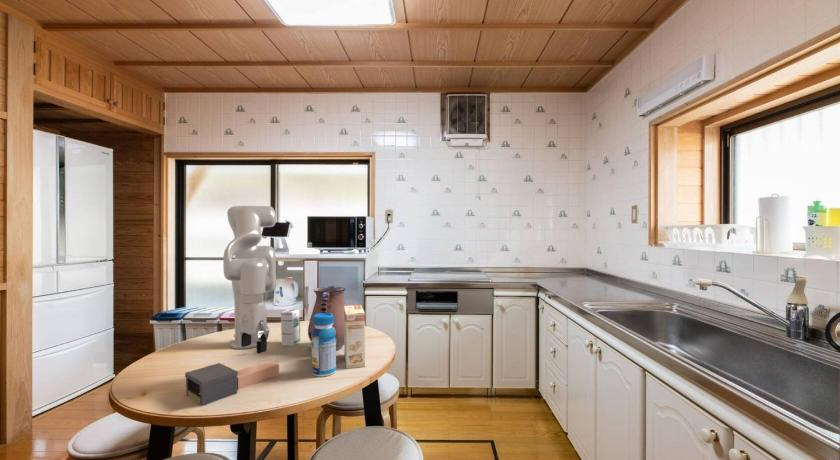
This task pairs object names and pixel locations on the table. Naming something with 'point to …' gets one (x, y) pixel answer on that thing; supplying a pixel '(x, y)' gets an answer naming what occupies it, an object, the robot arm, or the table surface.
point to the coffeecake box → (354, 336)
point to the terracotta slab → (256, 373)
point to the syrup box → (290, 327)
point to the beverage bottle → (323, 345)
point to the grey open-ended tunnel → (211, 383)
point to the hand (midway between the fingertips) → (253, 349)
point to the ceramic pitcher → (330, 310)
